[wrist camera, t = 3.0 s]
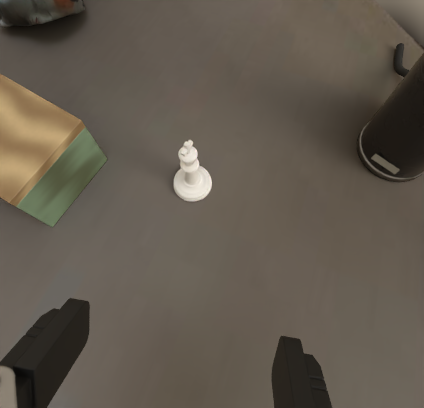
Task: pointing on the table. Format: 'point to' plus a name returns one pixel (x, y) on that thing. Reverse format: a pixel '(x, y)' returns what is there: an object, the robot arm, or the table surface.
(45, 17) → the lucky cat figurine
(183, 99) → the table surface
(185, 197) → the chess piece
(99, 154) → the shelf
